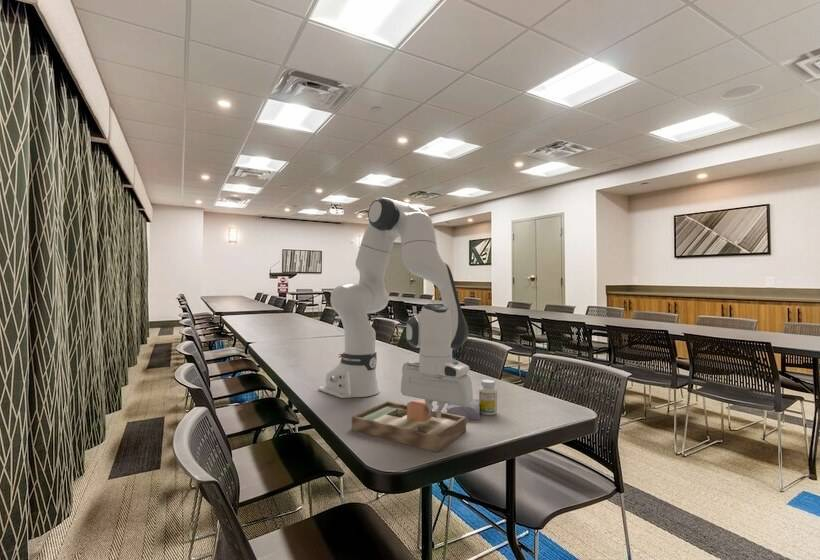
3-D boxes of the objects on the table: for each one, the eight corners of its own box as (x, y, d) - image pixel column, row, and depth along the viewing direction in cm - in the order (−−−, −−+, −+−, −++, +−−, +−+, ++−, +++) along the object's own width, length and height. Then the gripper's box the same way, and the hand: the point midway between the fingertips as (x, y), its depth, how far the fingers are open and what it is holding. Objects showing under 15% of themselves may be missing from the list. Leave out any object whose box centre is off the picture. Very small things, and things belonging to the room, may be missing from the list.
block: (407, 418, 104) (407, 403, 104) (416, 413, 108) (416, 398, 108) (423, 421, 101) (423, 406, 101) (431, 416, 105) (432, 401, 106)
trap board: (351, 429, 101) (352, 416, 102) (387, 412, 116) (387, 401, 116) (437, 452, 88) (437, 437, 88) (466, 429, 102) (466, 417, 102)
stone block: (448, 425, 111) (482, 420, 110) (445, 408, 111) (479, 403, 110) (449, 413, 123) (480, 409, 121) (447, 398, 123) (477, 393, 122)
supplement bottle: (491, 416, 113) (491, 384, 113) (475, 412, 117) (475, 381, 117) (500, 412, 117) (500, 381, 117) (484, 408, 121) (485, 378, 121)
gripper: (396, 362, 105) (395, 413, 105) (465, 371, 95) (465, 428, 94) (408, 359, 111) (407, 407, 110) (475, 367, 100) (474, 420, 100)
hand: (434, 416), depth 102 cm, fingers closed
